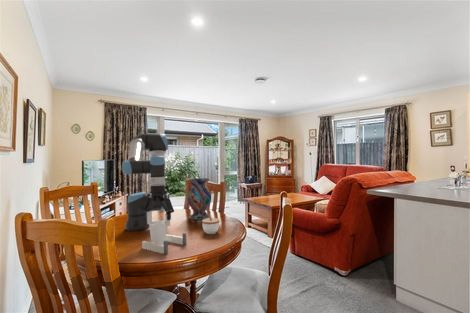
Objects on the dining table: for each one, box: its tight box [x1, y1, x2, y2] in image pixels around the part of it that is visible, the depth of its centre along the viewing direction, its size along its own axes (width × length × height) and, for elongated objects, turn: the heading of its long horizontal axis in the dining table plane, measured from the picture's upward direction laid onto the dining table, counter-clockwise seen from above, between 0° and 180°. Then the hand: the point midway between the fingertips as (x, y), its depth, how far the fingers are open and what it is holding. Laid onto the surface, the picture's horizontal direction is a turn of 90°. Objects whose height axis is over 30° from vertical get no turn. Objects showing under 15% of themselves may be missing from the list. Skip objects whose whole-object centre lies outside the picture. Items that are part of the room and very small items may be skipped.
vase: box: [187, 177, 212, 221], centre depth 187 cm, size 18×18×30 cm
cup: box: [149, 220, 168, 245], centre depth 128 cm, size 9×9×12 cm
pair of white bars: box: [141, 232, 187, 255], centre depth 126 cm, size 17×16×6 cm
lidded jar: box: [201, 216, 220, 235], centre depth 148 cm, size 11×11×9 cm
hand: (158, 224), depth 128 cm, fingers open, 13 cm apart
